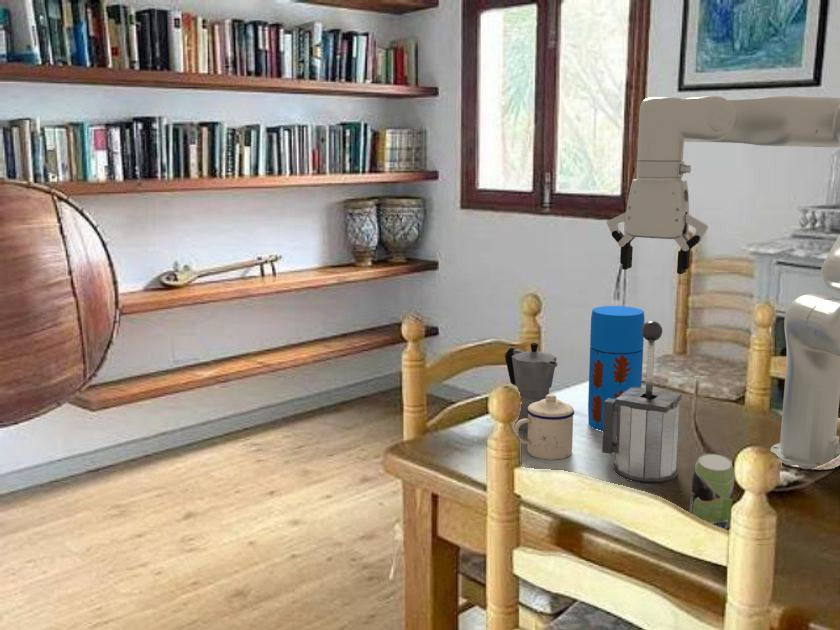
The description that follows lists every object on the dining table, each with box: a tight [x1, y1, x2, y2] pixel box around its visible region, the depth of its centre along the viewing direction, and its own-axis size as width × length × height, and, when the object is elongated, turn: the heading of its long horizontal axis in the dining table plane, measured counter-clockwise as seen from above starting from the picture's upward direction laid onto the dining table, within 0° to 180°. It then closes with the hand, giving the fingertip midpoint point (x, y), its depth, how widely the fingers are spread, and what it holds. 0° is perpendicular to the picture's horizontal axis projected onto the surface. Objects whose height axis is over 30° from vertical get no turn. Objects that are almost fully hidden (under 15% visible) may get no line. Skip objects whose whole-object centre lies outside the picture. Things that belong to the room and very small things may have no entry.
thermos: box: [587, 305, 645, 432], centre depth 178 cm, size 11×11×25 cm
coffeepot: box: [504, 342, 558, 432], centre depth 181 cm, size 15×9×18 cm, turn 36°
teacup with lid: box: [513, 393, 575, 461], centre depth 164 cm, size 12×9×12 cm
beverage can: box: [689, 453, 736, 529], centre depth 131 cm, size 6×7×12 cm
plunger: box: [641, 320, 663, 399], centre depth 151 cm, size 7×7×18 cm
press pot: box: [601, 386, 682, 485], centre depth 154 cm, size 14×11×14 cm
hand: (653, 270), depth 148 cm, fingers open, 9 cm apart
